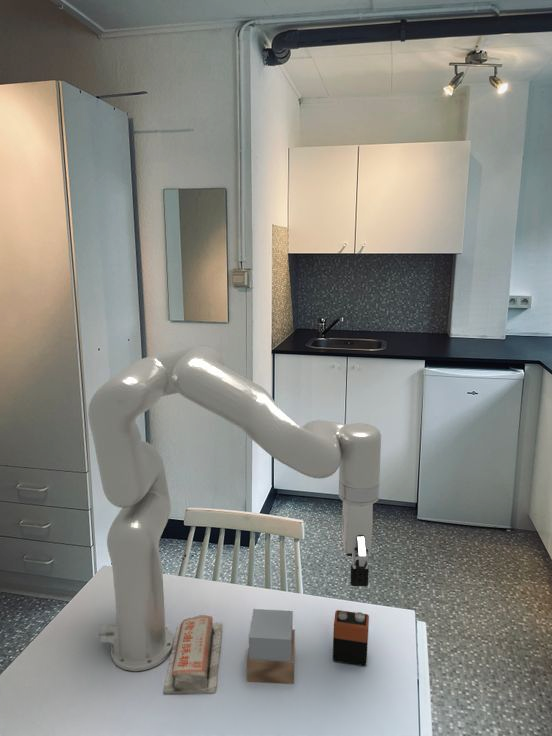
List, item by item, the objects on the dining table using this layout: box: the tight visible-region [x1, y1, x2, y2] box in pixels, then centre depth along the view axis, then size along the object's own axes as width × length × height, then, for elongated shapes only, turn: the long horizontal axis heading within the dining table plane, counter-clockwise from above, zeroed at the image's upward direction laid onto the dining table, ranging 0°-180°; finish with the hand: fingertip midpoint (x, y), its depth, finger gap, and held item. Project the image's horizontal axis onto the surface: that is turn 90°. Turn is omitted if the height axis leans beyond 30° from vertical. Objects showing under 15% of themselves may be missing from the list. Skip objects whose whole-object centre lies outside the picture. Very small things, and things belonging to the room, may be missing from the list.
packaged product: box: [162, 614, 223, 695], centre depth 108 cm, size 18×5×10 cm
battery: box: [332, 609, 370, 667], centre depth 108 cm, size 4×7×10 cm, turn 78°
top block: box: [248, 608, 294, 662], centre depth 105 cm, size 8×8×5 cm
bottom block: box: [246, 628, 296, 685], centre depth 107 cm, size 9×9×5 cm
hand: (356, 569), depth 105 cm, fingers open, 9 cm apart
